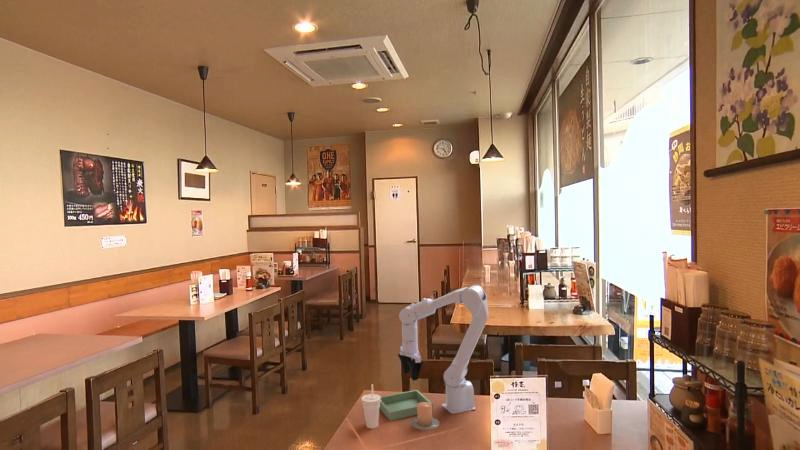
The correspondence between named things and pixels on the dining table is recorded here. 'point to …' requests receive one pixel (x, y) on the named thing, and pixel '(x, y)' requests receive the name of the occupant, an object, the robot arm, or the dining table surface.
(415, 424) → the saucer
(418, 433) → the dining table surface
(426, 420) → the salmon pink cylinder
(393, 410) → the pale green open box
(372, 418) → the smoothie
